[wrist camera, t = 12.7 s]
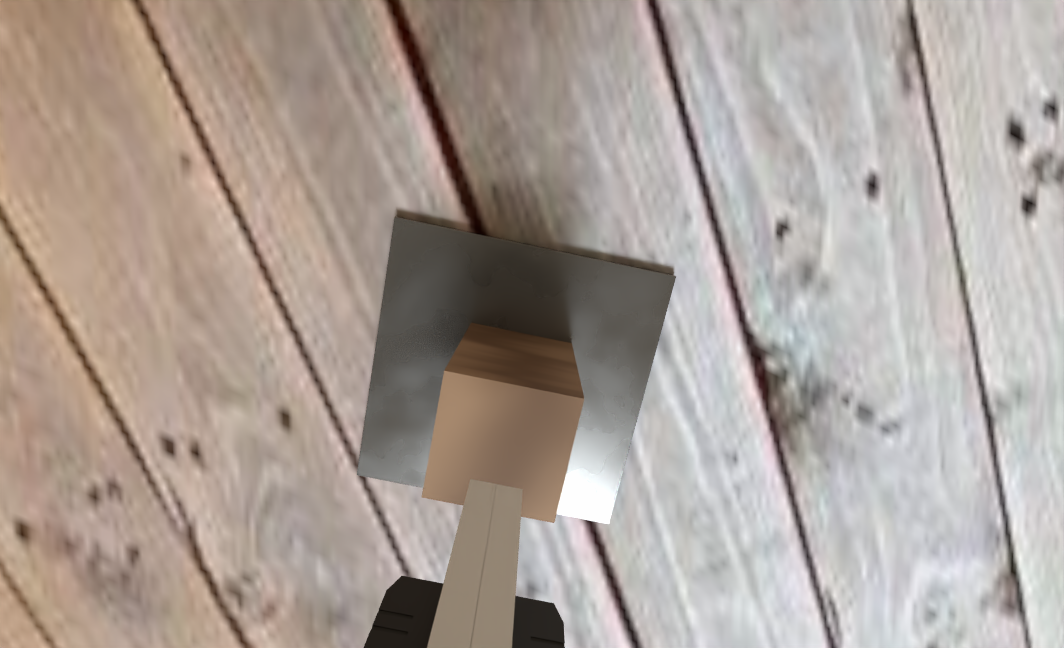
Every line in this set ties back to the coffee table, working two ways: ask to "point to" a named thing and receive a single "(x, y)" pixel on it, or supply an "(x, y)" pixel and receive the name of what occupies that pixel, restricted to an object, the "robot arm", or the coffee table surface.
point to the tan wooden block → (506, 418)
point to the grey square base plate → (521, 306)
